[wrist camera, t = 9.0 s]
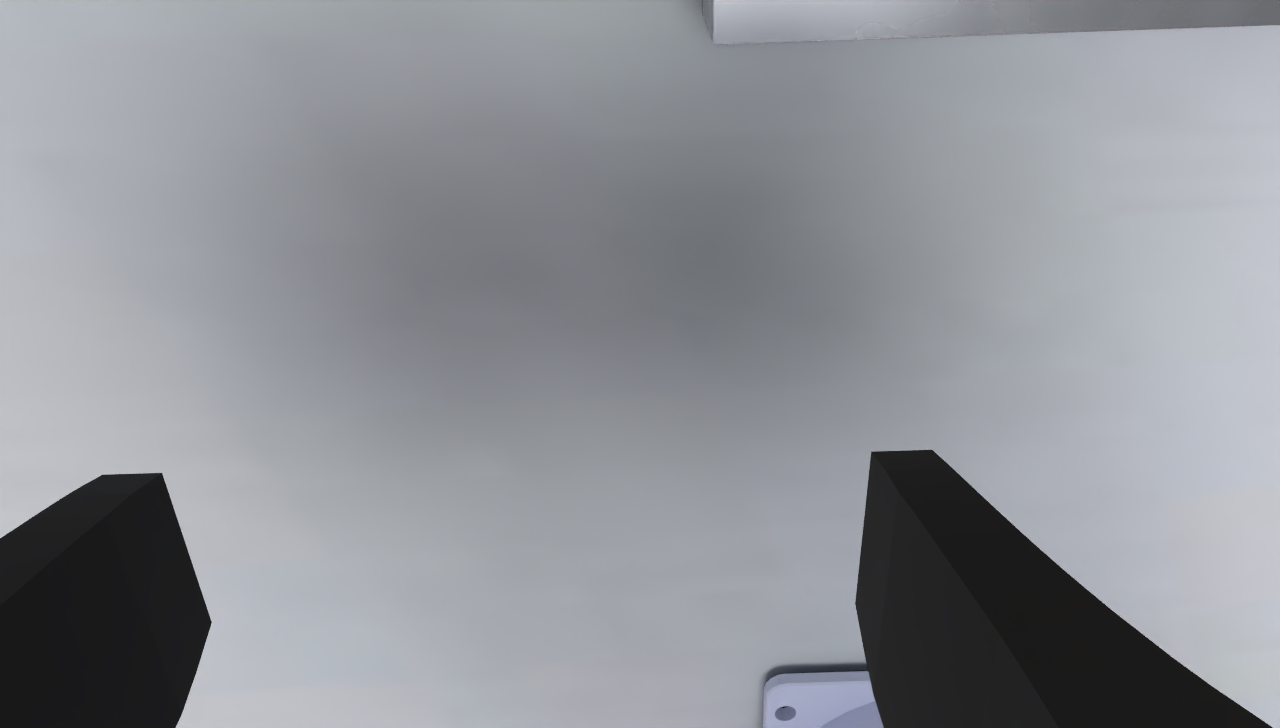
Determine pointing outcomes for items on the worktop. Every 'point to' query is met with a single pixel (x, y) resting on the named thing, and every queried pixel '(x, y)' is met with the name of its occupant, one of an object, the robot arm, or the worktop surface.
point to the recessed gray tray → (965, 17)
